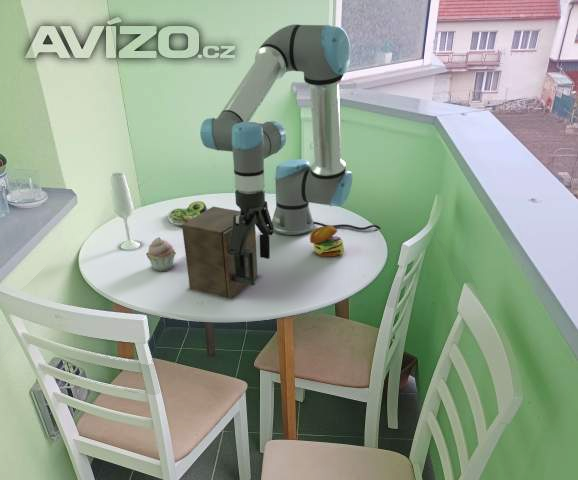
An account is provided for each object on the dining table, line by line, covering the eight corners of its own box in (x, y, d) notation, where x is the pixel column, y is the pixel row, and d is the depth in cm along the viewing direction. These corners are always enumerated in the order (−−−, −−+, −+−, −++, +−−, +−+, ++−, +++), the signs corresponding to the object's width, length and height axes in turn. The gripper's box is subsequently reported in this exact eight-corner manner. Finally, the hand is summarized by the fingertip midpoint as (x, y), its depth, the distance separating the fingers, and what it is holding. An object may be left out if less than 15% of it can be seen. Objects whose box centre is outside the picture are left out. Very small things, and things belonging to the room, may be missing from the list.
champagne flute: (120, 250, 192) (105, 178, 178) (120, 242, 198) (106, 172, 183) (140, 248, 193) (127, 177, 179) (140, 241, 199) (128, 170, 184)
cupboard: (254, 276, 176) (251, 213, 164) (227, 298, 165) (221, 232, 153) (218, 268, 181) (213, 206, 169) (189, 289, 169) (181, 224, 157)
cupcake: (182, 268, 181) (179, 238, 175) (155, 276, 176) (150, 245, 170) (170, 258, 187) (165, 229, 181) (143, 265, 183) (138, 236, 177)
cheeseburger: (340, 260, 184) (334, 231, 179) (310, 263, 189) (303, 234, 183) (348, 247, 192) (342, 219, 186) (319, 250, 196) (312, 223, 191)
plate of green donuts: (218, 228, 207) (217, 216, 205) (168, 232, 205) (167, 219, 202) (214, 210, 223) (213, 198, 220) (168, 213, 220) (166, 201, 217)
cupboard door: (277, 280, 173) (275, 217, 161) (251, 303, 162) (247, 238, 150) (254, 275, 176) (251, 213, 164) (227, 298, 164) (222, 233, 153)
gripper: (260, 174, 155) (263, 247, 167) (210, 202, 137) (217, 282, 149) (285, 178, 152) (285, 252, 165) (237, 206, 134) (242, 288, 147)
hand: (253, 266), depth 157 cm, fingers open, 13 cm apart
